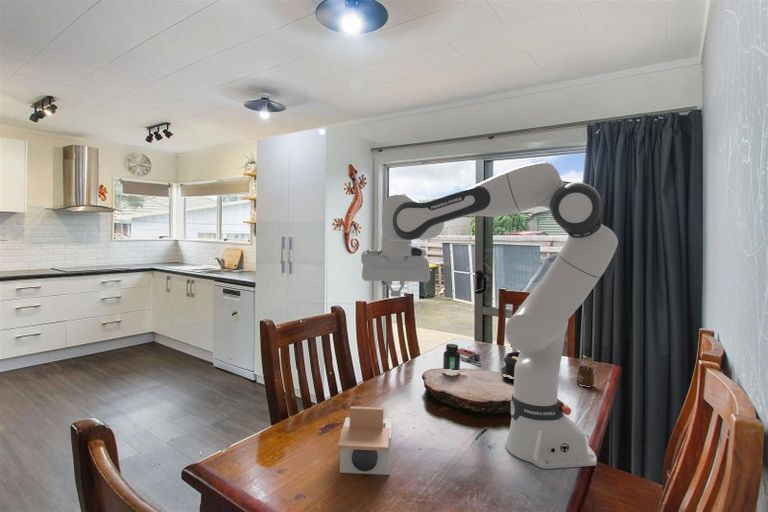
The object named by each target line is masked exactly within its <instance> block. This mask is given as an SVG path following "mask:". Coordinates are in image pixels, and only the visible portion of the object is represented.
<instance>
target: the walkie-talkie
mask: <svg viewBox="0 0 768 512" xmlns="http://www.w3.org/2000/svg"><path fill="white" fill-rule="evenodd" d="M458 352H459V353H460V359H461V360H460V361H463V360H464V361H463V362H465V361H466V362H465V363H468V362H467V361H469V362H470V363H473V364H475V365H476V364H477V365H480V366H481V365H482V363H481V362H479V361H480V360H479V359H480V358H481V355H480V353H476V351H475V350H473V349H470V348H467V349H466V348H465V347H464V348H462V347H461V348H458ZM474 360H475V361H474Z"/></svg>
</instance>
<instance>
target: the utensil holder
mask: <svg viewBox="0 0 768 512" xmlns="http://www.w3.org/2000/svg"><path fill="white" fill-rule="evenodd" d="M584 359H586V362H585V363H584V362H582V363H583V364H582V365H579V366H578V369H577V372H576V384H577V383H578V384H581V385H586V386H592V385H593V386H594V383H595V382H594V381H595V376H594V375H595V374H594V368H593V367H591V364H592V357H587V356H585V355H584Z"/></svg>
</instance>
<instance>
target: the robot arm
mask: <svg viewBox="0 0 768 512" xmlns="http://www.w3.org/2000/svg"><path fill="white" fill-rule="evenodd" d="M539 207H542V208H546V209H549V210H550V212H551V216H552V218H553V220H554V221H555V223H556V224H557V225H558V226H559V227H560V228H561V229H563V231H564V232H565V233H567V234H568V236H567V240H566V241H565V244H564V245H563V247H562V249H560V251H559V253H558V254H557V256H556V258H555V259H554V261H553V262H552V264H551V265H550V266H549V269H548V270H547V271H546V273H545V274H544V275H543V277H542V279H541V280H540V281H539V283H538V284H537V285H536V286H535V287H534V288H533V289H532V291H531V292H530V293H529V295H528V296H527V297H526V298H525V300H524V301H523V302H522V303H521V305H520V306H519V307H518V309H517V310H516V311H515V312H514V314H513V315H511V316H510V318H509V319H508V320H507V323H506V324H505V328H504V333H505V334H504V335H505V337H506V340H507V342H508V344H509V345H510V346H511V347H512V348H514V349H515V350H517V352H519V356H518V359H517V362H516V364H515V369H514V380H513V393H512V394H511V402H510V415H511V419H510V425H509V431H508V434H507V437H506V440H505V444H504V446H505V448H506V450H507V451H508V452H509V453H510V454H511V455H512V456H515V457H516V458H518V459H520V460H524V461H525V462H529V463H531V464H533V465H535V466H536V467H538V468H541V469H543V470H549V469H550V470H551V469H563V468H577V467H581V468H582V467H594V466H597V463H598V458H597V455H596V453H595V452H594V450H593V449H592V448H591V447H590V446H589V445H588V442H587V438H586V435H585V433H584V432H583V430H582V429H581V428H580V427H579V426H578V425H577V424H576V423H575V422H574V421H573V420H572V419H571V418H569V417H568V416H570V415H571V414H572V409H571V408H570V407H569V406H568V405H567V404H565V402H563V401H562V400H561V399H559V398H558V393H559V392H558V391H559V373H560V366H561V362H562V358H563V357H562V356H563V352H564V346H565V339H566V333H567V329H568V325H569V323H568V322H569V319H570V318H571V317H572V316H573V314H574V313H575V312H576V311H577V310H578V309H579V307H581V305H582V304H583V303H584V301H586V299H587V297H588V296H589V294H590V293H591V291H592V290H593V288H594V287H595V286H596V284H597V283H598V281H599V280H600V278H601V277H602V276H603V274H604V273H605V272H606V269H607V268H608V266H609V264H611V263H610V262H611V261H612V259H613V257H614V255H615V253H616V250H617V248H618V245H619V241H618V240H619V239H618V237H617V235H616V234H615V232H614V231H613V229H611V228H609V227H608V226H606V225H605V224H603V223H602V214H603V213H602V212H603V205H602V199H601V196H600V194H599V192H598V190H597V189H596V188H594V187H593V186H591V184H590V185H589V184H587V183H584V182H572V181H565V180H562V177H561V176H560V173H559V171H558V170H557V168H556V167H555V166H554V165H553V164H552V163H549V162H545V161H542V162H537V163H531V164H526V165H522V166H519V167H516V168H513V169H509V170H507V171H504V172H501V173H499V174H497V175H494V176H492V177H490V178H488V179H485V180H484V181H481V182H480V183H477V184H475V185H473V186H471V187H468V188H466V189H464V190H461V191H458V192H455V193H452V194H448V195H446V196H443V197H442V196H441V197H439V198H436V199H433V200H430V201H427V202H426V201H425V202H419V201H417V200H415V199H413V198H412V197H411V196H410V195H408V194H406V193H403V194H393V195H390V196H388V197H387V198H386V199H385V200H384V202H383V207H382V213H381V226H382V227H381V228H382V237H381V249H366V250H365V251H362V254H361V259H360V260H361V263H362V271H361V279H363V281H364V282H386V283H387V285H386V286H387V287H388V289H389V291H390V297H392V298H393V297H397V298H400V297H401V293H402V292H401V291H402V290H403V288H404V287H405V282H410V283H415V282H416V283H420V282H421V283H428V282H429V281H430V280H431V269H430V263H429V260H428V259H427V258H426V256H427V250H426V249H425V248H421V247H419V246H417V245H413V244H412V241H413V240H430V239H433V238H436V237H437V236H439V235H440V234H441V232H442V231H443V229H444V225H445V223H447V222H450V221H454V220H457V219H460V218H464V217H472V216H473V217H474V216H476V217H478V216H479V217H488V218H490V217H491V218H497V217H504V216H510V215H514V214H515V215H516V214H519V213H521V212H524V211H527V210H531V209H533V208H539ZM393 282H399V286H400V287H399V289H393V287H392V285H393Z"/></svg>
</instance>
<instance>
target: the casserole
mask: <svg viewBox="0 0 768 512" xmlns="http://www.w3.org/2000/svg"><path fill="white" fill-rule="evenodd" d="M519 352H520V351H512V352H508V353H506V355H505V357H504V358H503V361H504V363H505V366H502V367H501V375H502V374H506V375H510V376H512V377H514V369H515V364H516V362H517V359H518V356H519Z"/></svg>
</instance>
